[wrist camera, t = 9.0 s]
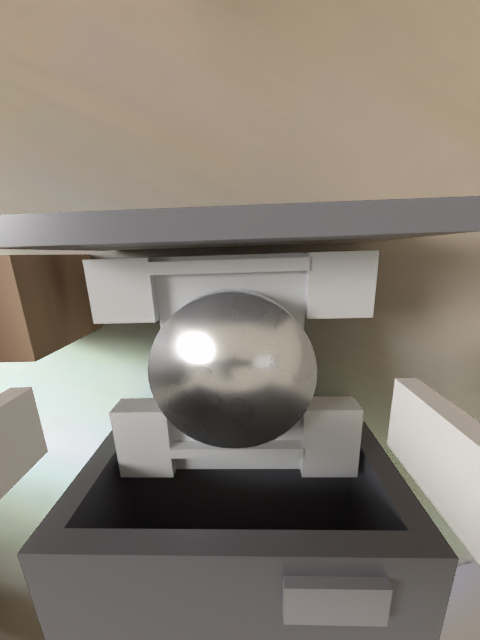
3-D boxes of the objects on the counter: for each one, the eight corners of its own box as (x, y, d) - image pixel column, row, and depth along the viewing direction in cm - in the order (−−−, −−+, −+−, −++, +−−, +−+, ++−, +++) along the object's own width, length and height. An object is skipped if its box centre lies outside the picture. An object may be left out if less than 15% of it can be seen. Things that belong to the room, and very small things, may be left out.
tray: (130, 425, 20) (52, 541, 12) (100, 234, 16) (-39, 216, 8) (351, 424, 19) (425, 544, 11) (369, 224, 16) (493, 195, 8)
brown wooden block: (34, 328, 19) (-64, 363, 13) (16, 256, 17) (-100, 258, 12) (102, 327, 18) (35, 361, 13) (90, 254, 17) (9, 255, 11)
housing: (150, 545, 23) (76, 764, 13) (128, 408, 20) (7, 565, 10) (342, 547, 23) (417, 778, 13) (355, 405, 19) (471, 571, 9)
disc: (149, 292, 13) (136, 297, 11) (311, 284, 13) (319, 289, 11) (168, 429, 15) (158, 450, 13) (308, 426, 15) (315, 447, 13)
